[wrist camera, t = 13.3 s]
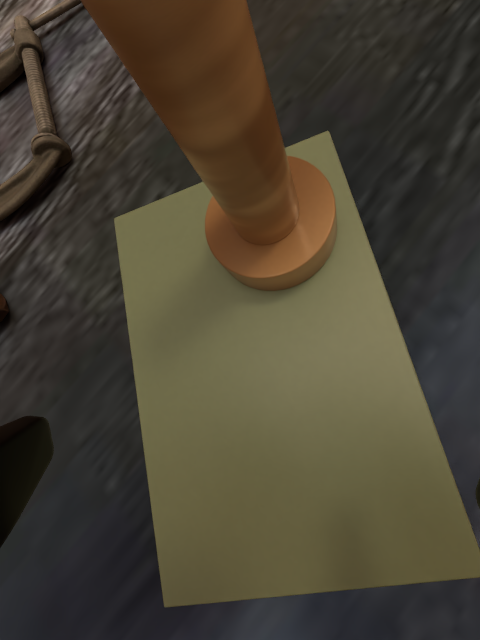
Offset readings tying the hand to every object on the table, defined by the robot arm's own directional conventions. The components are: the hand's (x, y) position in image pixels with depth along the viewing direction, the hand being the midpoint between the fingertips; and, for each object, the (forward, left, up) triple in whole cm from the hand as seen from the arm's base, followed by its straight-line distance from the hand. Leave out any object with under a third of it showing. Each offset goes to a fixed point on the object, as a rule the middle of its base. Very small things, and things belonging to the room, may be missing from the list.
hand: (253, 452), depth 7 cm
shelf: (+4, 0, -12) cm, 13 cm away
